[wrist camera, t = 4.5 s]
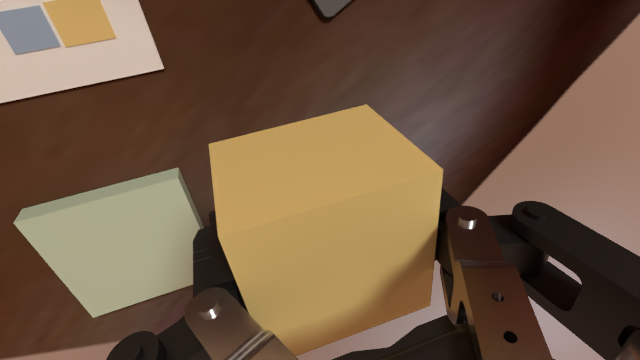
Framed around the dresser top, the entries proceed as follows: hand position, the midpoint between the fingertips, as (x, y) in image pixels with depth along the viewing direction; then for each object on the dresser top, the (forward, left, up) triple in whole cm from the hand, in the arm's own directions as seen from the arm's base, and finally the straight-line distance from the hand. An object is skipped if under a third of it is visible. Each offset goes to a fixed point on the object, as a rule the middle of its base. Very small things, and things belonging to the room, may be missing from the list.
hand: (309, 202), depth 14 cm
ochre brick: (0, 0, -1) cm, 1 cm away
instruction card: (+9, -6, -13) cm, 17 cm away
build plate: (+11, +9, -13) cm, 19 cm away
